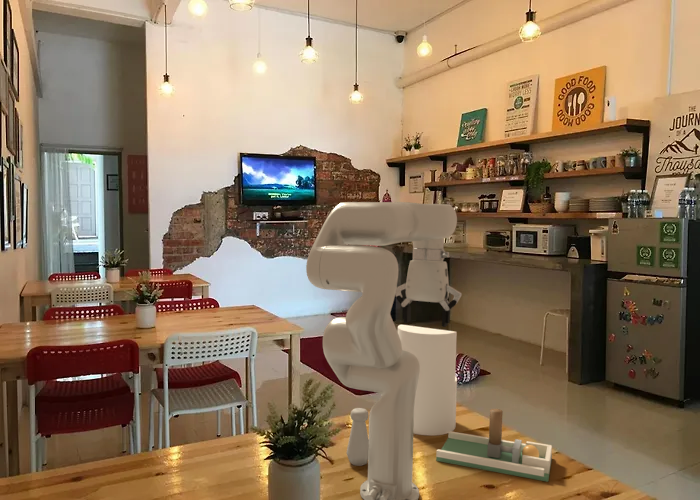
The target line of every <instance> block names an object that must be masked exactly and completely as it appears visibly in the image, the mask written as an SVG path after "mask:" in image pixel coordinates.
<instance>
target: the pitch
mask: <svg viewBox="0 0 700 500" xmlns="http://www.w3.org/2000/svg"><path fill="white" fill-rule="evenodd" d="M447 434H448V436H447V439H446V440H445V442H444V444H443V446H442V447H441V449H439V448H438V449H436V456H435V457H436V459H435V460H436V462H442V463H447V464H451V465H452V464H453V465H458V466H463V467H466V468H467V467H469V468H473V469H479V470H483V471H487V472H489V471H490V472H495V473H499V474H500V473H501V474H505V475H511V476H516V477H522V478H526V479H532V480H536V481H542V482H546V483H547V482H549V479H550V471H551V465H552V456H553V454H552V453H553V452H552V451H553V450H552V449H553V445H552V444H547V443H540V442H533V441H526V442H525V443H523V442H522V444H521V456H520V460H519V463H513V462H512V453H506V452H502V454H501V456H500V458H495V457H489V456H487V449H488V442H489V436H488V437H487V436H480V435H476V434H470V433H463V432H455V431H449V433H447ZM514 442H515V441H510V440H505V439H502V446H507V447H512V448H513V445H514ZM527 445H533V446H535V447H536V448H537V449H538V451H539V458H538V457H532V456H527V455H523V456H522V450H523V448H524V447H525V446H527Z"/></svg>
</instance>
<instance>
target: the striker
mask: <svg viewBox="0 0 700 500" xmlns="http://www.w3.org/2000/svg"><path fill="white" fill-rule="evenodd" d="M488 428H489V431H488V438H489V442H488V449H487V456H489V457H495V458H500V456H501V454H502V452H506V453H512V462H513V463H519V460H520V456H521V444H522V443H523V442H522V439H517V438H515V439H514V441H513V442H514V445H513V448H512V447H507V446H502V440H503V439H502V436H503V435H502V433H503V410H502V409H500V408H491V409H489V427H488Z"/></svg>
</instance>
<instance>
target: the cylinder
mask: <svg viewBox="0 0 700 500" xmlns="http://www.w3.org/2000/svg"><path fill="white" fill-rule="evenodd" d="M397 332H398V334H399V337H400V340H401V344H402V350H405V351H408V352H410V353H412V354H413V355H415V356H416V358H417V359H418V361H419V365H420V373H419V379H418V385H417V390H416V396H415V406H414V432H413V435H419V436H441V435H442V436H443V435H446V434H448V433H449V431H452V432H454V430H455V429H456V425H457V424H456V423H457V422H456V421H457V393H458V392H457V389H458V388H457V386H458V378H457V376H456V369H457V368H456V367H457V361H456V360H457V337H458V336H457V334H458V333H457V331H453V330H447V329H439V328H430V327H422V326H415V325H408V324H399V325H398V326H397Z"/></svg>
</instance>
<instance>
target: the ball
mask: <svg viewBox="0 0 700 500" xmlns="http://www.w3.org/2000/svg"><path fill="white" fill-rule="evenodd" d="M523 455H527V456H532V457H538V458H539V451H538V449H537V448H536V447H535V446H533V445H527V446H525V447H524V448H523V450H522V456H523Z"/></svg>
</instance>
